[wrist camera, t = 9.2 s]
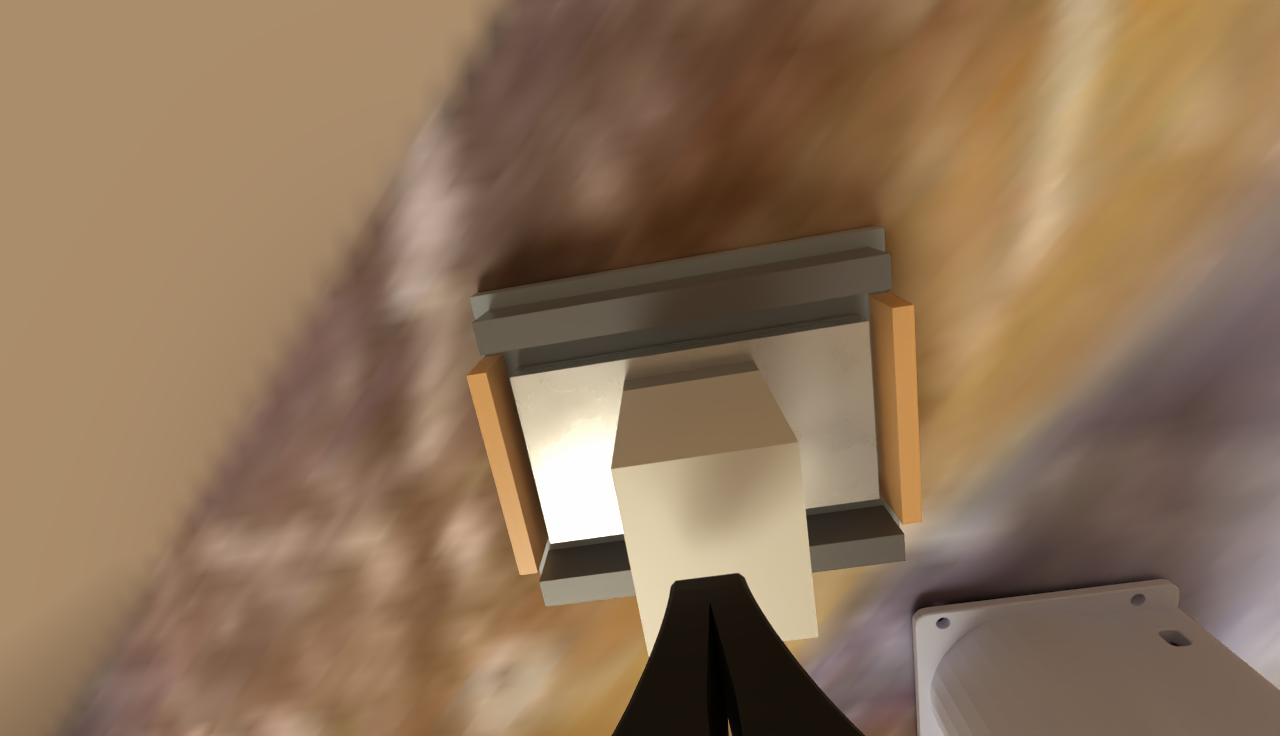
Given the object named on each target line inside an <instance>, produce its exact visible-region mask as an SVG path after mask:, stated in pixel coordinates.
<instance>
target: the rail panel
mask: <svg viewBox="0 0 1280 736" xmlns="http://www.w3.org/2000/svg"><path fill="white" fill-rule="evenodd" d="M889 289H892V272H891V253H887V252H885V232H884V227H880V226H870V227H864V228H858V229H852V230H846V231H840V232H834V233H828V234H823V235H817V236H811V237H805V238H799V239H793V240H787V241H781V242H775V243H769V244H763V245H758V246H752V247H746V248H740V249H734V250H728V251H722V252H716V253H710V254H704V255H698V256H693V257H687V258H681V259H675V260H669V261H663V262H657V263H651V264H645V265H639V266H633V267H628V268H622V269H616V270H610V271H604V272H598V273H592V274H586V275H580V276H574V277H568V278H563V279H557V280H551V281H545V282H539V283H533V284H527V285H521V286H515V287H509V288H503V289H498V290H492V291H486V292H480V293H476V294H474V295H473V296H471V297H470V301H471V305H472V309H473V313H474V317H475V321H474V322H472V325H473V328H474V332H475V336H476V340H477V344H478V348H479V352H480V355H484V356H485V357H484V358H483V359H482V360H481V361H480V362H479V364H478V365H477V366H476V367H475V368H474V369H473V370H472V371H471V372H470V373H469V374H468V375H467V380H468V384H469V387H470V391H471V395H472V398H473V402H474V406H475V410H476V413H477V417H478V421H479V424H480V428H481V432H482V436H483V439H484V443H485V447H486V450H487V454H488V458H489V462H490V465H491V469H492V473H493V476H494V480H495V484H496V488H497V491H498V495H499V499H500V502H501V506H502V510H503V514H504V517H505V521H506V525H507V528H508V532H509V536H510V540H511V543H512V547H513V551H514V554H515V558H516V562H517V566H518V569H519V573H520V575H525V574H532V573H538V570H539V569H540V573H541V578H540V581H539V583H540V587H541V591H542V595H543V598H544V602H545V606H546V607H548V606H556V605H563V604H571V603H579V602H587V601H595V600H602V599H610V598H618V597H626V596H634V595H636V592H635V587H634V582H633V577H632V572H631V567H630V563H629V558H628V553H627V548H626V543H625V538H624V534H617V535H609V536H602V537H595V538H587V539H580V540H573V541H565V542H558V543H550V539H549V535H548V531H547V527H546V523H545V519H544V515H543V511H542V507H541V502H540V498H539V494H538V490H537V486H536V482H535V478H534V474H533V470H532V466H531V462H530V458H529V454H528V450H527V446H526V442H525V438H524V434H523V430H522V426H521V422H520V418H519V413H518V409H517V405H516V401H515V397H514V393H513V389H512V385H511V381H510V377H511V375H512V374H513V373H514V371H515V370H516V369H517V368H521V367H527V366H534V365H540V364H546V363H553V362H559V361H565V360H571V359H578V358H584V357H590V356H597V355H603V354H609V353H615V352H622V351H628V350H634V349H641V348H647V347H653V346H660V345H666V344H672V343H678V342H685V341H691V340H697V339H704V338H710V337H716V336H723V335H729V334H735V333H741V332H748V331H754V330H760V329H767V328H773V327H779V326H786V325H792V324H798V323H804V322H811V321H817V320H823V319H830V318H836V317H842V316H848V315H855V314H859V315H860V316H862V317H863V318H865V319H866V320H868V321H869V334H870V351H871V367H872V384H873V400H874V416H875V433H876V449H877V466H878V482H879V499H874V500H867V501H860V502H852V503H845V504H838V505H830V506H823V507H815V508H808V509H805V510H806V520H807V530H808V539H809V549H810V559H811V569H812V573H813V572H821V571H829V570H837V569H845V568H852V567H860V566H868V565H876V564H884V563H891V562H899V561H905V542H904V533H903V532H902V530H901V529H900V528H899V520H900V521H901V523H902V524H910V523H917V522H922V503H921V476H920V450H919V423H918V397H917V370H916V344H915V317H914V305H913V304H911V303H909V302H907V301H905V300H903V299H901V298H899V297H897V296H894V295H892V294H890V293H888V291H887V290H889Z"/></svg>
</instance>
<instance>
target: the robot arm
mask: <svg viewBox="0 0 1280 736" xmlns="http://www.w3.org/2000/svg"><path fill="white" fill-rule="evenodd" d="M1134 595H1136V596H1134ZM1133 596H1134V597H1133ZM1132 597H1133V598H1132ZM1179 598H1180V591H1179V589H1178V587H1177V586H1176V585H1174V584H1173V583H1172V582H1170V581H1168V580H1166V579H1156V580H1148V581H1140V582H1131V583H1123V584H1115V585H1107V586H1099V587H1090V588H1082V589H1074V590H1066V591H1058V592H1049V593H1041V594H1033V595H1025V596H1017V597H1008V598H1000V599H992V600H984V601H976V602H967V603H959V604H951V605H943V606H935V607H927V608H922V609H920V610H918V611H917V612H916V613H915V614H914V615H913V619H912V624H913V646H914V668H915V689H916V711H917V733H918V736H1280V690H1279V689H1277V688H1276V687H1275V686H1274V685H1273V684H1271V683H1270V682H1269V681H1268V680H1266V679H1265V678H1264V677H1263V676H1261V675H1260V674H1259V673H1258V672H1257V671H1255V670H1254V669H1253V668H1252V667H1250V666H1249V665H1248V664H1247V663H1246V662H1244V661H1243V660H1242V659H1241V658H1239V657H1238V656H1237V655H1236V654H1234V653H1233V652H1232V651H1231V650H1230V649H1228V648H1227V647H1226V646H1225V645H1223V644H1222V643H1221V642H1220V641H1218V640H1217V639H1216V638H1215V637H1214V636H1212V635H1211V634H1210V633H1209V632H1207V631H1206V630H1205V629H1204V628H1203V627H1201V626H1200V625H1199V624H1198V623H1196V622H1195V621H1194V620H1193V619H1191V618H1190V617H1189V616H1188V615H1187V614H1185V613H1184V612H1183V611H1182V610H1180V609H1179V608H1178V607H1179ZM943 617H944V619H943V620H942V621H939V622H937V620H939V619H940V618H943ZM728 720H729V724H730V728H731V733H732V736H865V735H864V734H863V733H862V732H861V731H860V730H859V729H858V728H857V727H856V726H855V725H854V724H853V723H852V722H851V721H850V720H849V719H848V718H847V717H846V716H845V715H844V714H843V713H842V712H841V711H840V710H839V709H838V708H837V707H836V706H835V704H834V703H833V702H832V701H831V700H830V699H829V698H828V697H827V696H826V695H825V693H824V692H823V691H822V690H821V689H820V688H819V687H818V685H817V684H816V683H815V682H814V681H813V679H812V678H811V677H810V676H809V675H808V673H807V672H806V671H805V670H804V669H803V667H802V666H801V665H800V664H799V662H798V661H797V660H796V659H795V657H794V656H793V655H792V653H791V652H790V651H789V649H788V648H787V647H786V645H785V644H784V642H783V641H782V640H781V638H780V637H779V636H778V634H777V633H776V631H775V630H774V629H773V627H772V626H771V624H770V623H769V621H768V620H767V618H766V616H765V615H764V613H763V612H762V610H761V608H760V607H759V605H758V603H757V602H756V600H755V598H754V596H753V595H752V593H751V591H750V589H749V586H748V584H747V582H746V579H745V577H743V576H742V575H741V574H739V573H733V574H725V575H717V576H709V577H701V578H693V579H685V580H677V581H675V582H674V583H673V584H672V585H671V588H670V594H669V599H668V603H667V607H666V611H665V614H664V618H663V621H662V624H661V627H660V630H659V633H658V636H657V638H656V641H655V644H654V646H653V649H652V652H651V654H650V657H649V659H648V662H647V664H646V667H645V669H644V671H643V674H642V676H641V678H640V680H639V682H638V685H637V687H636V689H635V691H634V693H633V695H632V698H631V700H630V702H629V704H628V706H627V708H626V710H625V712H624V714H623V716H622V718H621V720H620V721H619V723H618V725H617V727H616V729H615V731H614V732H613V734H612V736H729V732H728Z"/></svg>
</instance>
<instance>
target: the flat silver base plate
mask: <svg viewBox="0 0 1280 736" xmlns="http://www.w3.org/2000/svg"><path fill="white" fill-rule="evenodd" d="M753 360H754V362H755V364H756V366H757V367H758V369H759V371H760V373H761V375H762V377H763V378H764V380H765V382H766V384H767V386H768V387H769V389H770V391H771V393H772V395H773V396H774V398H775V400H776V402H777V404H778V406H779V407H780V409H781V411H782V413H783V415H784V416H785V418H786V420H787V422H788V424H789V426H790V427H791V429H792V431H793V433H794V435H795V436H796V438H797V440H798V442H799V450H800V460H801V470H802V480H803V490H804V500H805V509H808V508H815V507H823V506H830V505H838V504H845V503H852V502H860V501H867V500H874V499H879V482H878V466H877V449H876V433H875V416H874V400H873V384H872V367H871V351H870V334H869V321H868V320H866V319H865V318H863V317H862V316H860V315H859V314H855V315H848V316H842V317H836V318H830V319H823V320H817V321H811V322H804V323H798V324H792V325H786V326H779V327H773V328H767V329H760V330H754V331H748V332H741V333H735V334H729V335H723V336H716V337H710V338H704V339H697V340H691V341H685V342H678V343H672V344H666V345H660V346H653V347H647V348H641V349H634V350H628V351H622V352H615V353H609V354H603V355H597V356H590V357H584V358H578V359H571V360H565V361H559V362H553V363H546V364H540V365H534V366H527V367H521V368H517V369H516V370H515V371H514V373H513V374H512V375H511V377H510V381H511V385H512V389H513V393H514V397H515V401H516V405H517V409H518V413H519V418H520V422H521V426H522V430H523V434H524V438H525V442H526V446H527V450H528V454H529V458H530V462H531V466H532V470H533V474H534V478H535V482H536V486H537V490H538V494H539V498H540V502H541V507H542V511H543V515H544V519H545V523H546V527H547V531H548V535H549V539H550V543H558V542H565V541H573V540H580V539H587V538H595V537H602V536H609V535H617V534H624V533H623V528H622V523H621V519H620V514H619V509H618V504H617V499H616V494H615V489H614V484H613V479H612V474H611V470H610V469H611V463H612V456H613V450H614V443H615V437H616V431H617V424H618V418H619V412H620V405H621V399H622V393H623V386H624V380H630V379H637V378H643V377H650V376H656V375H663V374H669V373H676V372H682V371H689V370H695V369H702V368H708V367H715V366H721V365H728V364H734V363H740V362H747V361H753Z"/></svg>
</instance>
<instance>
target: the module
mask: <svg viewBox="0 0 1280 736" xmlns="http://www.w3.org/2000/svg"><path fill="white" fill-rule="evenodd" d="M610 470H611V474H612V479H613V484H614V489H615V494H616V499H617V504H618V509H619V514H620V519H621V523H622V528H623V533H624V538H625V543H626V548H627V553H628V558H629V563H630V567H631V572H632V577H633V582H634V587H635V592H636V597H637V602H638V607H639V612H640V616H641V621H642V626H643V631H644V636H645V641H646V646H647V651H648V656H649V657H650V654H651V652H652V649H653V646H654V644H655V641H656V638H657V636H658V633H659V630H660V627H661V624H662V621H663V618H664V614H665V611H666V607H667V603H668V599H669V594H670V588H671V585H672V584H673V583H674V582H675V581H677V580H685V579H693V578H701V577H709V576H717V575H725V574H733V573H739V574H741V575H742V576H743V577H745V579H746V582H747V584H748V586H749V589H750V591H751V593H752V595H753V596H754V598H755V600H756V602H757V603H758V605H759V607H760V608H761V610H762V612H763V613H764V615H765V616H766V618H767V620H768V621H769V623H770V624H771V626H772V627H773V629H774V630H775V631H776V633H777V634H778V636H779V637H780V638H781V640H782V641H789V640H798V639H806V638H814V637H818V628H817V619H816V609H815V599H814V589H813V579H812V569H811V559H810V549H809V539H808V530H807V520H806V510H805V500H804V490H803V480H802V470H801V460H800V450H799V442H798V440H797V438H796V436H795V435H794V433H793V431H792V429H791V427H790V426H789V424H788V422H787V420H786V418H785V416H784V415H783V413H782V411H781V409H780V407H779V406H778V404H777V402H776V400H775V398H774V396H773V395H772V393H771V391H770V389H769V387H768V386H767V384H766V382H765V380H764V378H763V377H762V375H761V373H760V371H759V369H758V367H757V366H756V364H755V362H754V360H753V361H747V362H740V363H734V364H728V365H721V366H715V367H708V368H702V369H695V370H689V371H682V372H676V373H669V374H663V375H656V376H650V377H643V378H637V379H630V380H624V386H623V393H622V399H621V405H620V412H619V418H618V424H617V431H616V437H615V443H614V450H613V456H612V463H611V469H610Z"/></svg>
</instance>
